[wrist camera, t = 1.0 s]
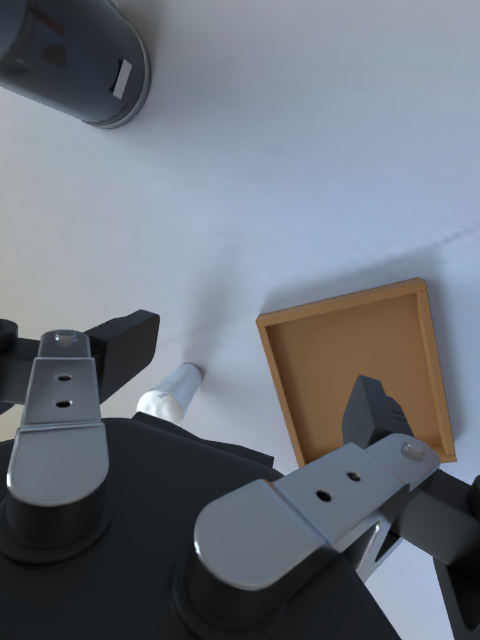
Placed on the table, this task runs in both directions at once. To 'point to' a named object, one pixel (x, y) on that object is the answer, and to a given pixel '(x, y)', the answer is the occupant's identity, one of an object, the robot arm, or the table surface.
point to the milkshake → (172, 394)
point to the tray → (357, 364)
